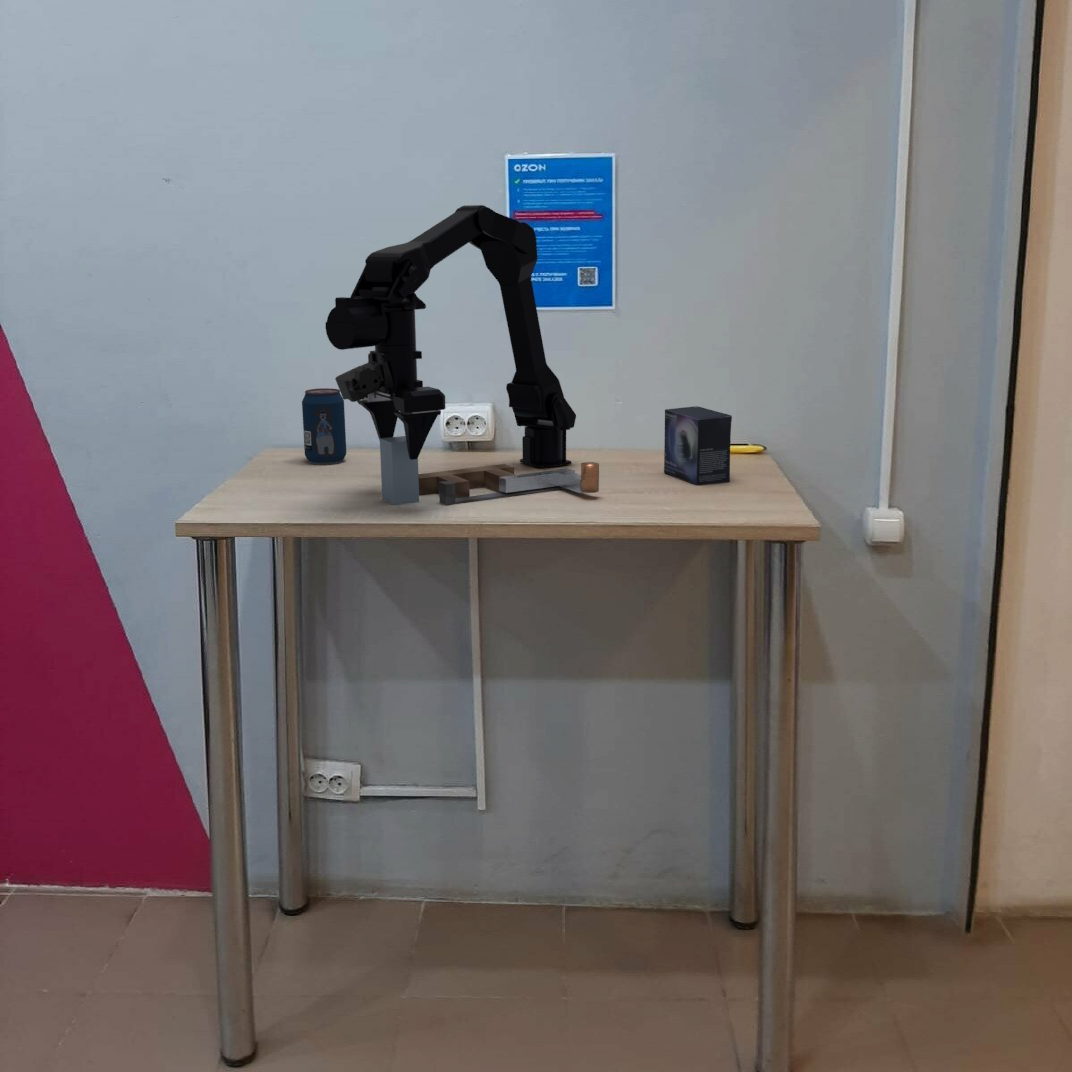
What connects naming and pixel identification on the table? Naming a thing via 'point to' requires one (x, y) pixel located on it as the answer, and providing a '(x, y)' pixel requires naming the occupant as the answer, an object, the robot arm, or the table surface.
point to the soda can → (324, 426)
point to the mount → (470, 483)
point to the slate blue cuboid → (398, 472)
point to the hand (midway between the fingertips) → (399, 454)
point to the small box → (697, 445)
